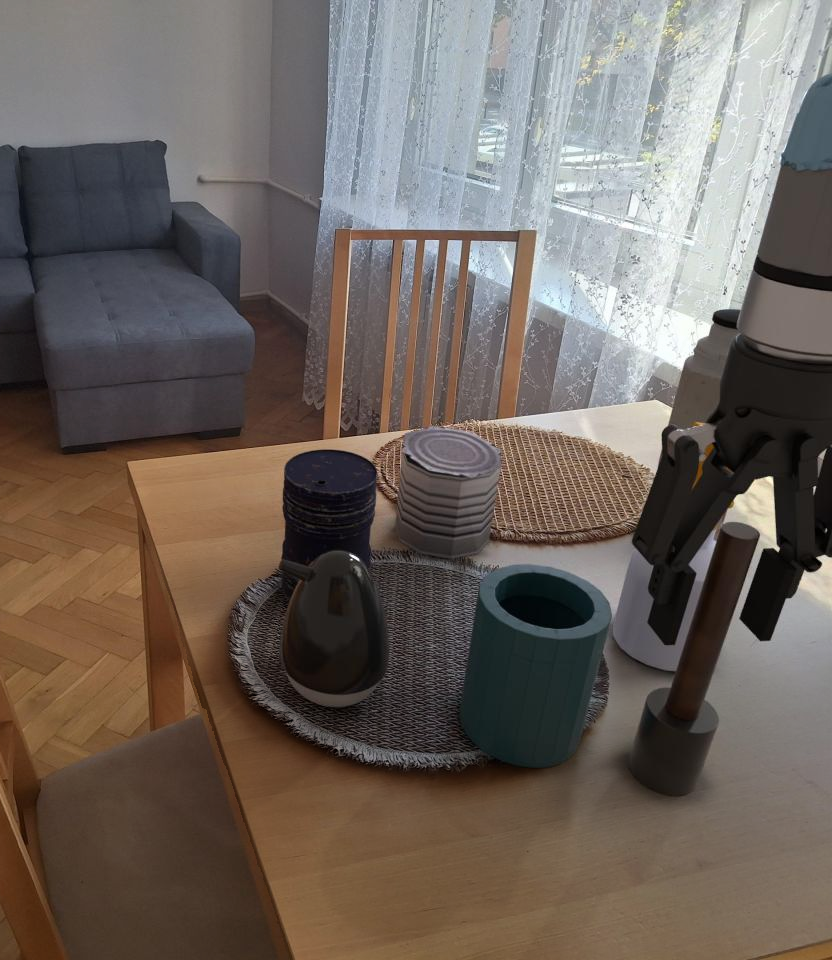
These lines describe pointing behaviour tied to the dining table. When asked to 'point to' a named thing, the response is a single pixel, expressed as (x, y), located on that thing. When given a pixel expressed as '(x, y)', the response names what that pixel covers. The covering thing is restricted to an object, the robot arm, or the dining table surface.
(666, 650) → the soap bottle
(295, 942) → the dining table surface
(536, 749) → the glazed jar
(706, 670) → the round mallet
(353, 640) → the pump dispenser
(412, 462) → the can
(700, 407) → the thermos bottle
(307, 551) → the storage jar
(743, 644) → the dining table surface
